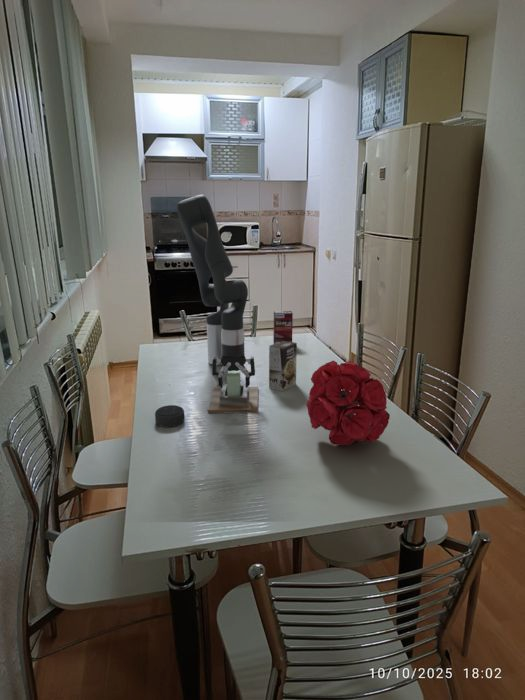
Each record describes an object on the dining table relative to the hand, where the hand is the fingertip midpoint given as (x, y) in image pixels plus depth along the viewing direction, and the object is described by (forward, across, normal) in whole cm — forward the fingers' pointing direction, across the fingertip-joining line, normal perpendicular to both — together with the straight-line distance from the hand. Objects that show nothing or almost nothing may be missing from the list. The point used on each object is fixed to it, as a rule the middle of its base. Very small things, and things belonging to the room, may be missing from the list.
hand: (234, 387), depth 161 cm
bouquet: (+5, +33, -26) cm, 42 cm away
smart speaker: (+5, -19, -16) cm, 25 cm away
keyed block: (+4, 0, 0) cm, 4 cm away
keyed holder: (+5, 0, 0) cm, 5 cm away
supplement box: (+5, +19, +66) cm, 69 cm away
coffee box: (+5, +17, +13) cm, 22 cm away
